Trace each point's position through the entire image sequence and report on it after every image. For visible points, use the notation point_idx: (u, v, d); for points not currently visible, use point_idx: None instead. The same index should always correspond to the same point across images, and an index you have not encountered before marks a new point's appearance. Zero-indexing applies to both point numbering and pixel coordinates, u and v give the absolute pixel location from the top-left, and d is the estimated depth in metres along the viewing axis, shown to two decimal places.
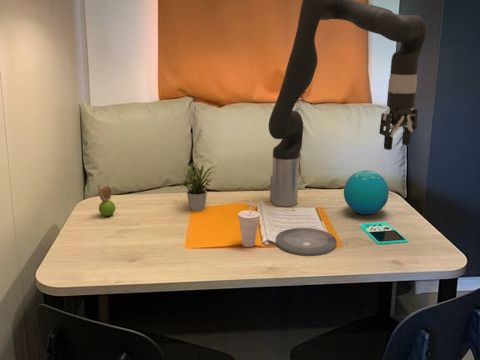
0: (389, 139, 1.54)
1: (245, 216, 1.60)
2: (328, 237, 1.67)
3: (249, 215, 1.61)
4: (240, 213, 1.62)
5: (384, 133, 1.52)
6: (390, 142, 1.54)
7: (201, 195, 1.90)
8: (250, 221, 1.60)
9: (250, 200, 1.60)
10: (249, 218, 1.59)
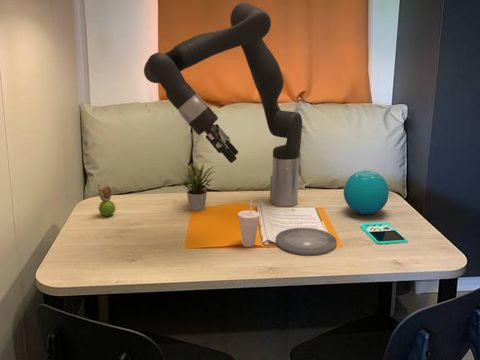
0: None
1: (245, 216, 1.60)
2: (328, 237, 1.67)
3: (249, 215, 1.61)
4: (240, 213, 1.62)
5: None
6: None
7: (201, 195, 1.90)
8: (250, 221, 1.60)
9: (250, 200, 1.60)
10: (249, 218, 1.59)
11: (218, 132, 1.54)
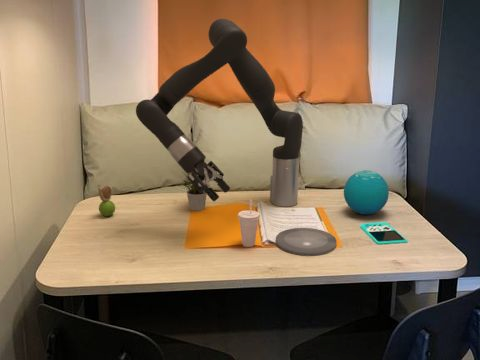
0: None
1: (245, 216, 1.60)
2: (328, 237, 1.67)
3: (249, 215, 1.61)
4: (240, 213, 1.62)
5: None
6: None
7: (201, 195, 1.90)
8: (250, 221, 1.60)
9: (250, 200, 1.60)
10: (249, 218, 1.59)
11: (203, 171, 1.61)
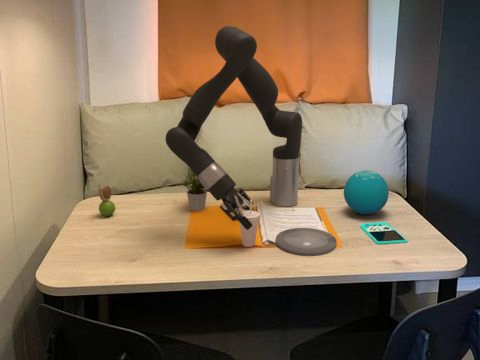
0: None
1: (245, 216, 1.60)
2: (328, 237, 1.67)
3: (249, 215, 1.61)
4: None
5: None
6: None
7: (201, 195, 1.90)
8: (250, 221, 1.60)
9: (250, 200, 1.60)
10: (249, 218, 1.59)
11: (234, 199, 1.60)
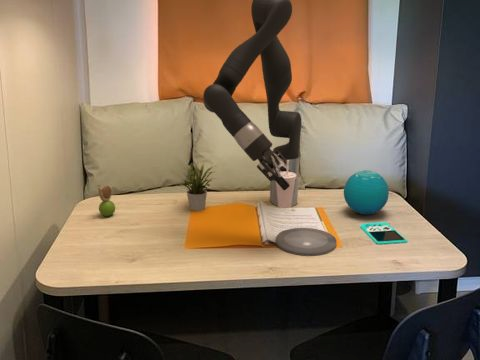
0: None
1: (282, 176, 1.58)
2: (328, 237, 1.67)
3: (286, 176, 1.58)
4: None
5: None
6: None
7: (201, 195, 1.90)
8: (287, 181, 1.57)
9: (287, 160, 1.58)
10: (286, 178, 1.57)
11: (271, 159, 1.57)
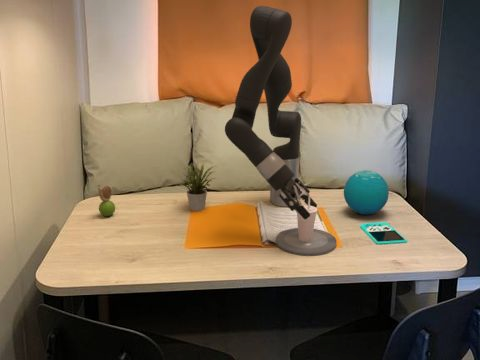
0: None
1: None
2: (328, 237, 1.67)
3: (307, 210, 1.61)
4: None
5: None
6: None
7: (201, 195, 1.90)
8: (309, 216, 1.60)
9: (309, 195, 1.61)
10: None
11: (293, 189, 1.60)
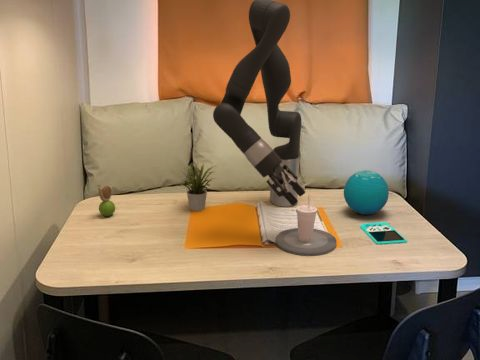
0: None
1: (304, 211, 1.61)
2: (328, 237, 1.67)
3: (307, 210, 1.61)
4: (298, 208, 1.63)
5: None
6: None
7: (201, 195, 1.90)
8: (309, 216, 1.60)
9: (309, 195, 1.61)
10: (308, 213, 1.60)
11: (281, 175, 1.60)
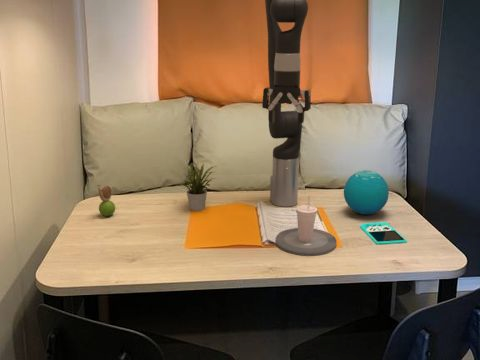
0: (269, 112, 1.66)
1: (304, 211, 1.61)
2: (328, 237, 1.67)
3: (307, 210, 1.61)
4: (298, 208, 1.63)
5: None
6: (270, 115, 1.66)
7: (201, 195, 1.90)
8: (309, 216, 1.60)
9: (309, 195, 1.61)
10: (308, 213, 1.60)
11: None
